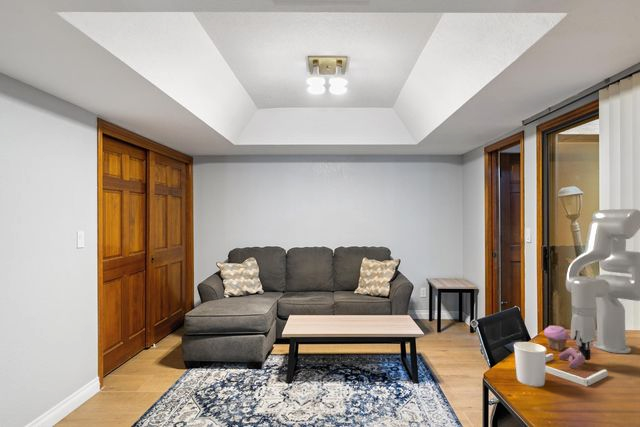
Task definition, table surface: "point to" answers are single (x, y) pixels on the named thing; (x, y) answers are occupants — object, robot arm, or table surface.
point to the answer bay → (575, 378)
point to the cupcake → (556, 337)
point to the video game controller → (573, 357)
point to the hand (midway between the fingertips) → (584, 358)
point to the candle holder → (530, 363)
